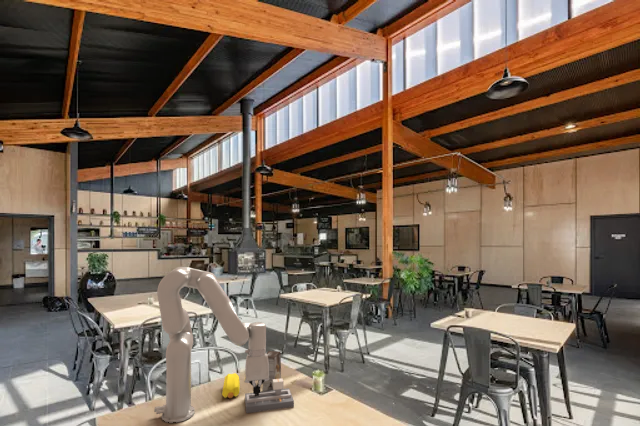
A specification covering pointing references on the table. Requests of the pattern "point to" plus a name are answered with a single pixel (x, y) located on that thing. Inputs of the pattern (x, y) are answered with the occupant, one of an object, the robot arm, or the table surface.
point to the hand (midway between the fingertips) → (256, 394)
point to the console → (268, 401)
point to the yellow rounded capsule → (231, 385)
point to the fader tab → (278, 386)
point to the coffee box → (273, 369)
